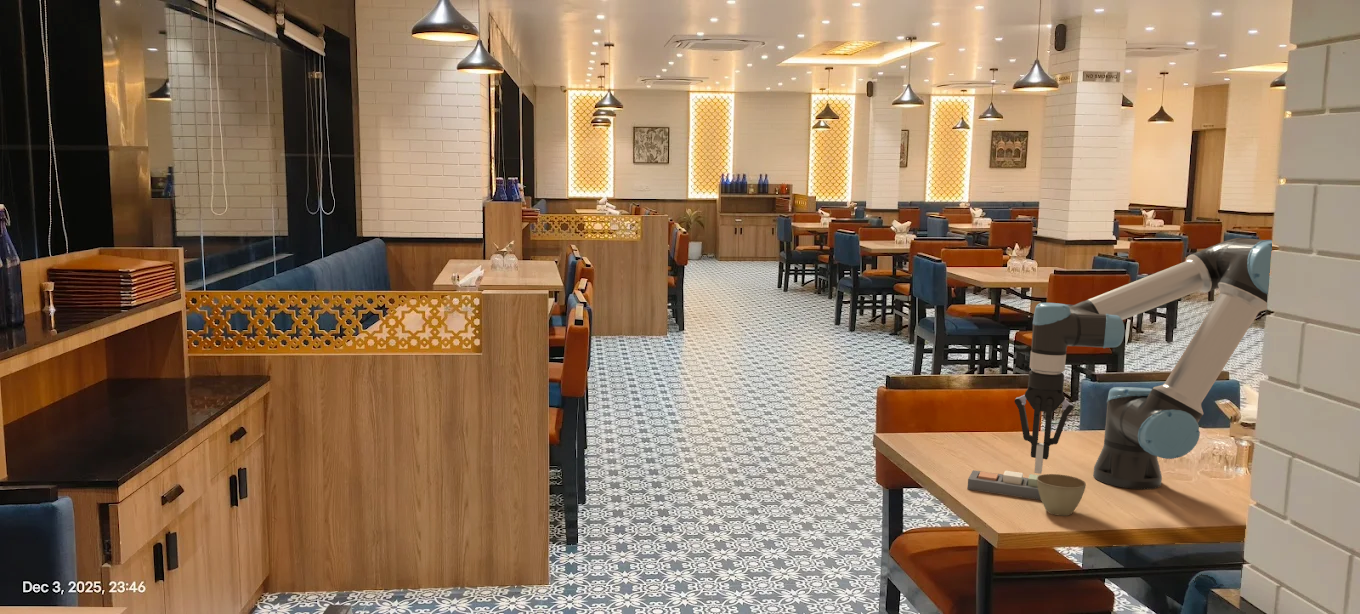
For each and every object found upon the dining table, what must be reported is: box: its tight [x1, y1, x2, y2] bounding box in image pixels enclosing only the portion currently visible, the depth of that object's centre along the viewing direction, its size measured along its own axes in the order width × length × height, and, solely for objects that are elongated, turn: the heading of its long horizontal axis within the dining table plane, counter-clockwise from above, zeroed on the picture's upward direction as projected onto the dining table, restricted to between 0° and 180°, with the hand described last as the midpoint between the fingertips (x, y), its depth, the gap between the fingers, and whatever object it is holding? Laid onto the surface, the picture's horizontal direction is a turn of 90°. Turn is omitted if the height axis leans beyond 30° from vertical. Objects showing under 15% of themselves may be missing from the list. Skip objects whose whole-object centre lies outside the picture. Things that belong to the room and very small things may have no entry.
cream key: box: [1003, 470, 1024, 485], centre depth 227 cm, size 4×4×2 cm
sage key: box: [1027, 473, 1040, 487], centre depth 224 cm, size 4×4×2 cm
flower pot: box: [1037, 473, 1087, 517], centre depth 212 cm, size 10×10×7 cm
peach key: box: [978, 471, 999, 481], centre depth 229 cm, size 4×4×2 cm
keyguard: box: [967, 469, 1042, 501], centre depth 227 cm, size 19×8×2 cm, turn 66°
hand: (1038, 471), depth 224 cm, fingers closed
